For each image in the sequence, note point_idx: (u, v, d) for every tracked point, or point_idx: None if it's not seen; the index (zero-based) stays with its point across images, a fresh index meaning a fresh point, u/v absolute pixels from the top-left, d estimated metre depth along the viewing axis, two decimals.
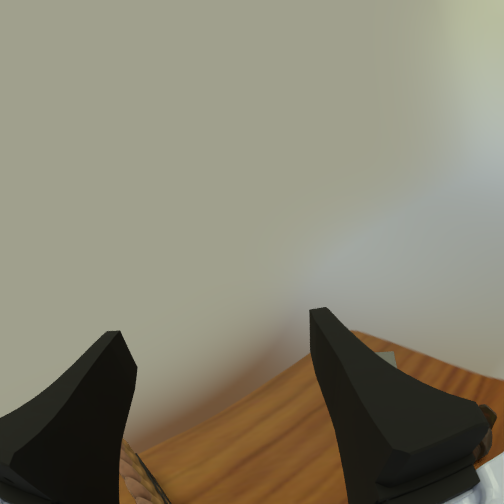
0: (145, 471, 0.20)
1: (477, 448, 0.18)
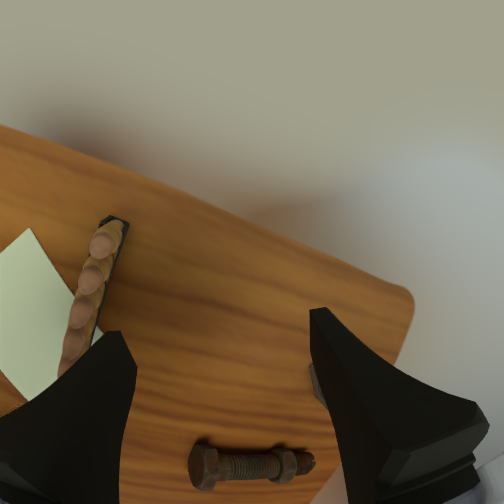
0: (111, 269, 0.18)
1: (270, 477, 0.29)
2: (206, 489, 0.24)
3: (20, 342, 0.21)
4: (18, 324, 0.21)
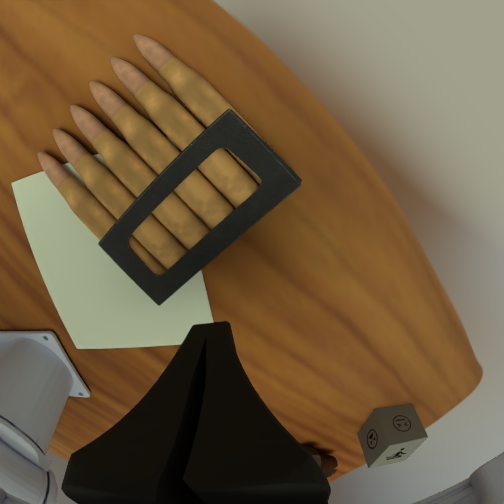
0: (187, 142, 0.14)
1: None
2: None
3: (89, 268, 0.19)
4: (97, 248, 0.18)
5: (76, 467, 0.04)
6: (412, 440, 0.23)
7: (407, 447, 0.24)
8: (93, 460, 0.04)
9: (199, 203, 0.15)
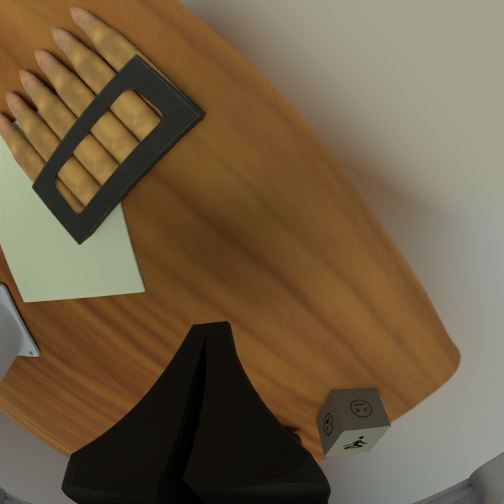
0: (101, 87, 0.13)
1: None
2: None
3: (30, 217, 0.18)
4: (36, 196, 0.17)
5: (76, 467, 0.04)
6: (371, 428, 0.23)
7: (366, 436, 0.23)
8: (93, 460, 0.04)
9: (109, 140, 0.15)
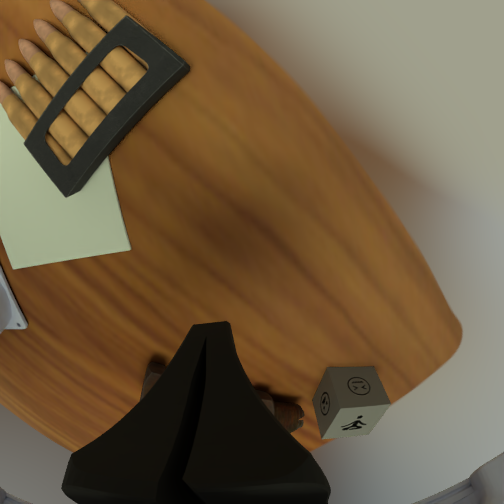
0: (93, 46, 0.13)
1: None
2: None
3: (22, 178, 0.17)
4: (28, 156, 0.17)
5: (76, 468, 0.04)
6: (370, 406, 0.22)
7: (365, 415, 0.23)
8: (93, 460, 0.04)
9: (99, 93, 0.14)
